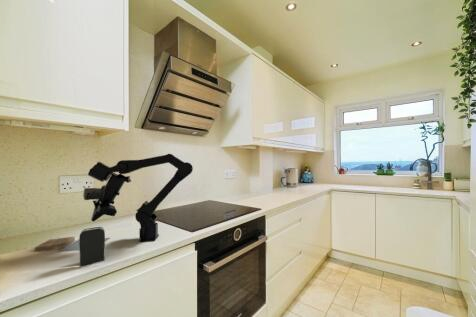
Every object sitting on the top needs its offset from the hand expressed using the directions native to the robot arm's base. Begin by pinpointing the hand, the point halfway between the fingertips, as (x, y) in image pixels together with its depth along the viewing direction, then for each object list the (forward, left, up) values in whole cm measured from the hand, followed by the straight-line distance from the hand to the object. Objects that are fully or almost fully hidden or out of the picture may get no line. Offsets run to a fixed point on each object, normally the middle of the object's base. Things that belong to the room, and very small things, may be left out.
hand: (92, 220), depth 84 cm
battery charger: (-10, +17, -10) cm, 22 cm away
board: (+8, +1, -8) cm, 12 cm away
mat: (+2, +1, -9) cm, 10 cm away
